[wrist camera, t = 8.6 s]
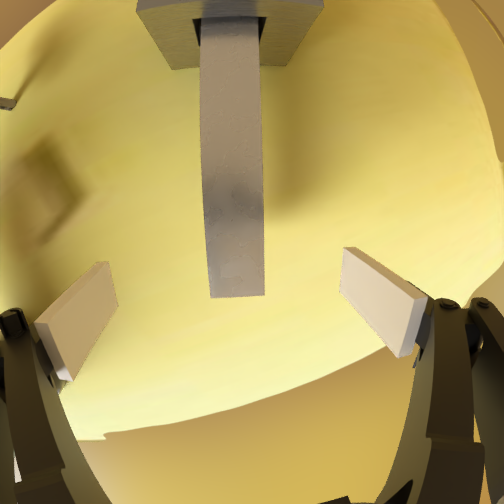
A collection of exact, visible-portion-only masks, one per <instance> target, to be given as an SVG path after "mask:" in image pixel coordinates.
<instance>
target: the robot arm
mask: <svg viewBox="0 0 504 504" xmlns="http://www.w3.org/2000/svg"><path fill="white" fill-rule="evenodd" d="M339 292H340V293H341V294H342V295H343V296H344V298H345V299H346V300H347V301H348V302H349V303H350V304H351V305H352V306H353V308H354V309H355V310H356V311H357V312H358V313H359V314H360V315H361V317H362V318H363V319H364V320H365V321H366V322H367V323H368V324H369V326H370V327H371V328H372V329H373V330H374V331H375V332H376V334H377V335H378V336H379V337H380V338H381V339H382V341H383V342H384V343H385V344H386V345H387V346H388V347H389V349H390V350H391V351H392V352H393V353H394V354H395V356H396V357H397V358H400V357H403V356H407V355H409V354H411V353H412V350H413V347H414V344H415V342H416V343H417V344H418V345H419V346H420V349H419V352H418V355H417V357H416V360H415V362H414V365H413V368H415V367H416V370H415V376H414V382H413V388H412V393H411V399H410V404H409V408H408V413H407V417H406V421H405V426H404V429H403V433H402V437H401V440H400V444H399V447H398V451H397V454H396V457H395V460H394V463H393V466H392V469H391V471H390V474H389V477H388V479H387V482H386V485H385V486H384V488H383V490H382V491H381V493H380V494H379V496H378V497H377V499H376V501H375V503H350V500H349V498H348V496H345V497H341V498H338V499H335V500H331V501H328V502H324V503H320V504H479V501H480V494H481V488H482V482H483V473H484V463H485V469H486V477H487V484H488V490H489V495H490V499H491V504H504V317H503V316H502V314H501V313H500V312H499V311H498V309H497V308H496V307H495V306H494V304H493V303H491V302H490V301H488V300H487V299H486V298H483V297H481V298H473V299H472V300H471V303H470V307H469V308H468V309H461V307H460V305H459V304H458V303H456V302H455V301H453V300H450V299H445V298H439V299H436V300H434V299H433V298H431V297H430V296H429V295H427V294H426V293H424V292H423V291H421V290H420V289H419V288H417V287H415V285H413V284H412V283H410V282H409V281H406V280H404V279H403V278H401V277H400V276H398V275H397V274H395V273H394V272H393V271H391V270H390V269H388V268H387V267H385V266H384V265H382V264H381V263H379V262H378V261H376V260H375V259H373V258H372V257H370V256H368V255H367V254H365V253H364V252H362V251H361V250H359V249H358V248H356V247H344V248H343V258H342V270H341V280H340V289H339ZM117 307H118V303H117V299H116V294H115V290H114V286H113V281H112V276H111V271H110V266H109V261H108V262H97V263H96V264H94V265H93V266H92V267H91V268H90V269H89V270H88V271H86V272H85V273H84V274H83V275H82V276H81V277H80V278H79V279H78V280H76V281H75V282H74V283H73V284H72V285H71V286H70V287H69V288H68V289H67V290H66V291H65V292H64V293H63V294H61V295H60V296H59V297H58V298H57V299H56V300H55V301H54V302H53V303H52V304H51V305H50V306H49V307H48V308H47V309H46V310H45V311H44V312H43V313H42V314H41V315H40V316H39V317H38V318H37V319H36V320H35V321H34V322H33V323H32V324H31V325H30V326H29V327H28V324H27V322H26V319H25V317H24V314H23V311H22V309H20V308H12V309H9V310H7V311H5V312H3V313H2V314H0V330H1V331H0V504H17V502H18V504H112V503H111V501H110V500H109V498H108V497H107V495H106V494H105V492H104V491H103V489H102V488H101V486H100V484H99V482H98V481H97V479H96V477H95V476H94V474H93V472H92V470H91V469H90V467H89V465H88V463H87V461H86V459H85V457H84V455H83V453H82V452H81V449H80V447H79V445H78V443H77V441H76V438H75V436H74V434H73V432H72V429H71V427H70V425H69V422H68V420H67V417H66V415H65V412H64V409H63V407H62V404H61V401H60V398H59V394H60V393H61V391H62V389H63V387H64V386H65V383H66V380H67V381H74V379H75V378H76V376H77V374H78V372H79V370H80V368H81V367H82V365H83V363H84V361H85V360H86V358H87V356H88V354H89V353H90V351H91V349H92V347H93V346H94V344H95V342H96V341H97V339H98V337H99V336H100V334H101V332H102V331H103V329H104V328H105V326H106V324H107V323H108V321H109V320H110V318H111V316H112V315H113V313H114V312H115V310H116V309H117ZM482 342H483V346H482V349H481V348H480V346H481V344H482ZM474 415H475V418H476V423H477V427H478V431H479V435H480V440H481V443H477V442H474V439H473V435H474ZM15 456H16V460H17V464H18V468H19V471H20V475H21V479H22V481H21V482H17V483H15V475H14V457H15Z"/></svg>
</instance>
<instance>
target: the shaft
mask: <svg viewBox="0 0 504 504" xmlns="http://www.w3.org/2000/svg"><path fill="white" fill-rule="evenodd" d="M200 138H201V168H202V190H203V208H204V224H205V238H206V251H207V263H208V275H209V286H210V296H211V298H227V297H246V296H262V295H265V293H264V212H263V163H262V125H261V92H260V64H259V39H258V17H257V16H228V17H208V18H201V45H200Z"/></svg>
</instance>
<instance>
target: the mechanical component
mask: <svg viewBox="0 0 504 504" xmlns="http://www.w3.org/2000/svg"><path fill="white" fill-rule="evenodd" d="M15 106H16V100H13V99H7V98H2V97H0V109H2V110H10V111H11V108H13V107H15Z"/></svg>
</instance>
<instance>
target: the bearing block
mask: <svg viewBox="0 0 504 504" xmlns="http://www.w3.org/2000/svg"><path fill="white" fill-rule="evenodd" d="M323 8H324V3H323V0H138V3H137V8H136V13H137V14H138V16H139V17H140V19H141V20H142V22H143V24H144V25H145V27H146V28H147V30H148V32H149V33H150V35H151V36H152V38H153V40H154V41H155V43H156V44H157V46H158V48H159V49H160V51H161V53H162V54H163V56H164V57H165V59H166V61H167V62H168V64H169V66H170V67H171V69H172V70H176V69H184V68H193V67H200V45H201V18H208V17H228V16H257V17H258V39H259V64H260V65H275V66H286V65H287V63H288V61H289V60H290V58H291V56H292V55H293V53H294V52H295V50H296V48H297V47H298V45H299V44H300V42H301V41H302V39H303V38H304V36H305V34H306V33H307V31H308V30H309V28H310V27H311V25H312V24H313V22H314V21H315V19H316V18H317V16H318V15H319V14H320V12H321V11H322V9H323Z"/></svg>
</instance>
